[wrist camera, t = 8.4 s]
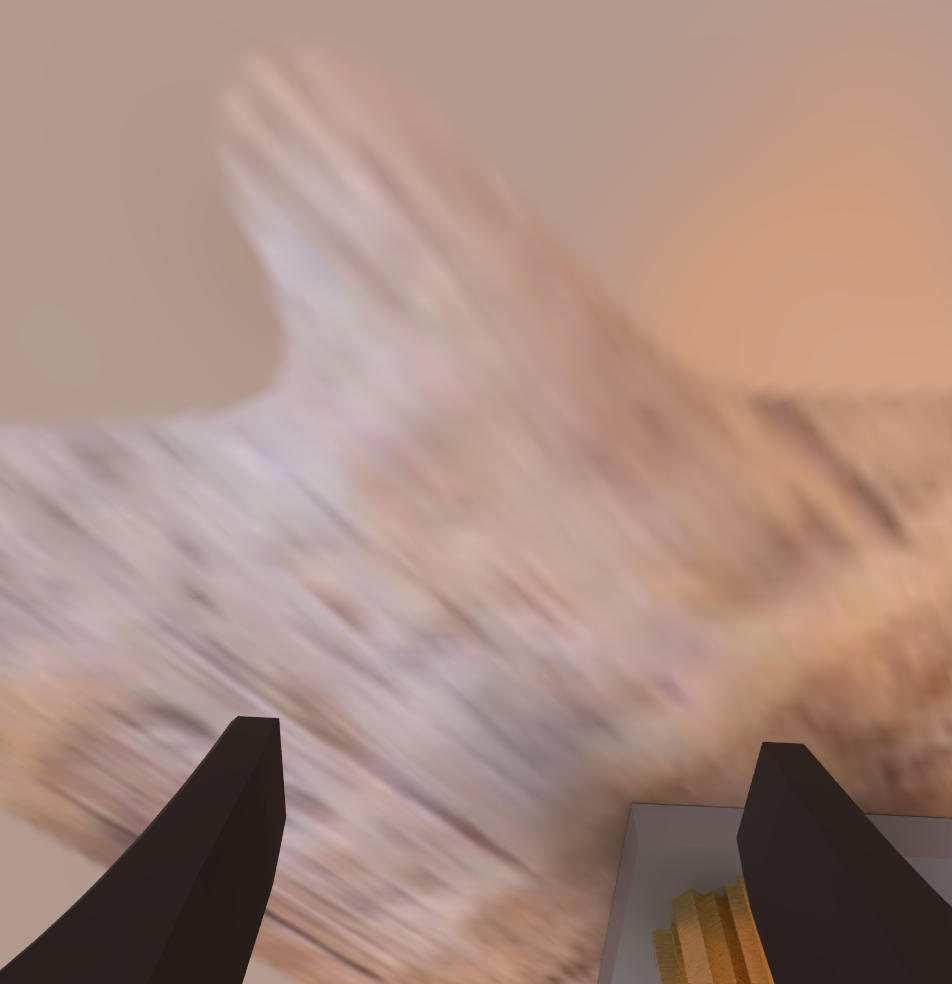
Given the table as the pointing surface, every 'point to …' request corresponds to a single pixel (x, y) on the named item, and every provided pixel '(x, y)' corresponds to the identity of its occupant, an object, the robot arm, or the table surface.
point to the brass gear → (711, 941)
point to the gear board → (718, 872)
